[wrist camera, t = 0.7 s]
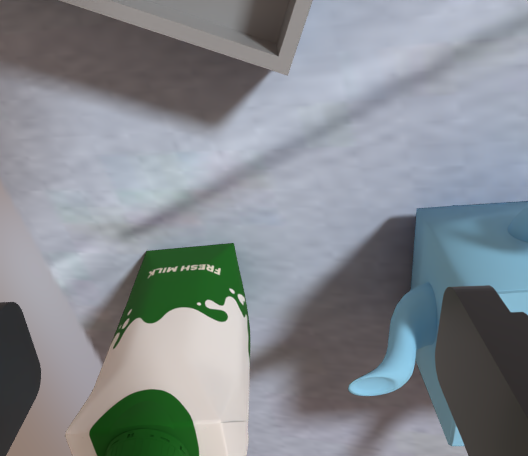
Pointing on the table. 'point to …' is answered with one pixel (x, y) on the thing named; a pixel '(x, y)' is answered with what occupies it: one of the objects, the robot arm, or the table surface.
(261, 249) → the table surface
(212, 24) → the open box
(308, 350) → the table surface
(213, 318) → the milk carton
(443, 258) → the teakettle
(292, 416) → the table surface
